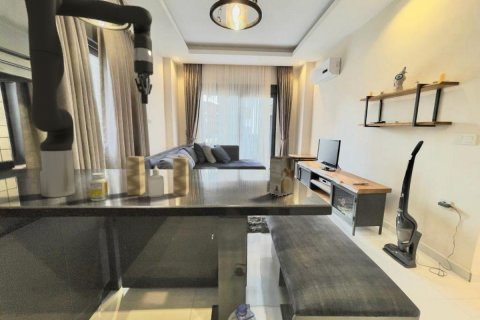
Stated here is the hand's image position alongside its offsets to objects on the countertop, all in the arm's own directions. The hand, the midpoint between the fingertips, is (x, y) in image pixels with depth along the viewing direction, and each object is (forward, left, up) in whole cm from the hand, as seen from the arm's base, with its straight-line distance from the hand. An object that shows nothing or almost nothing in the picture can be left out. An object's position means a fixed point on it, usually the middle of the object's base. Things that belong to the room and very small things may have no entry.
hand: (144, 103), depth 95 cm
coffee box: (+60, -8, -37) cm, 71 cm away
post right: (+18, -11, -37) cm, 43 cm away
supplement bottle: (-10, -19, -37) cm, 43 cm away
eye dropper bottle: (+9, -14, -37) cm, 41 cm away
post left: (0, -11, -37) cm, 39 cm away
